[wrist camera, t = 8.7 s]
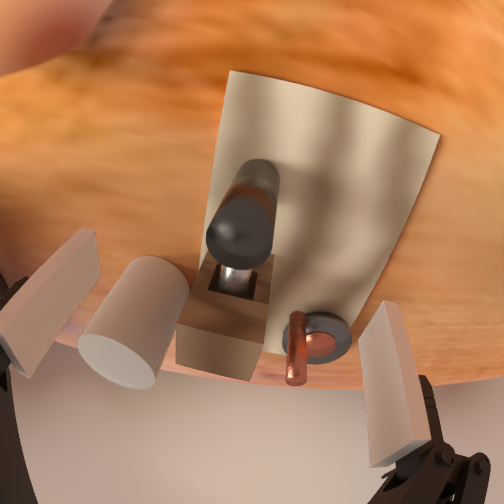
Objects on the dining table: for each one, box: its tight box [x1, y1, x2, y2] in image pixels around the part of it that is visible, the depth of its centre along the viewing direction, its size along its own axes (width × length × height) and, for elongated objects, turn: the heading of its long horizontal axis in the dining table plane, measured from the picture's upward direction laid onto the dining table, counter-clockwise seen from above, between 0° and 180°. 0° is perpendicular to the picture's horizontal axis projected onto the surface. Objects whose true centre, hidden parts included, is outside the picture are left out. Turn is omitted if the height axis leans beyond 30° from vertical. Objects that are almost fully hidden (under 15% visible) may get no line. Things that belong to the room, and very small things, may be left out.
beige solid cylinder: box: [77, 256, 190, 389], centre depth 29 cm, size 8×8×12 cm
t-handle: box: [206, 159, 280, 299], centre depth 24 cm, size 4×15×10 cm, turn 169°
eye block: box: [176, 71, 440, 382], centre depth 24 cm, size 18×30×12 cm, turn 169°
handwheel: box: [282, 311, 351, 386], centre depth 30 cm, size 10×8×9 cm
